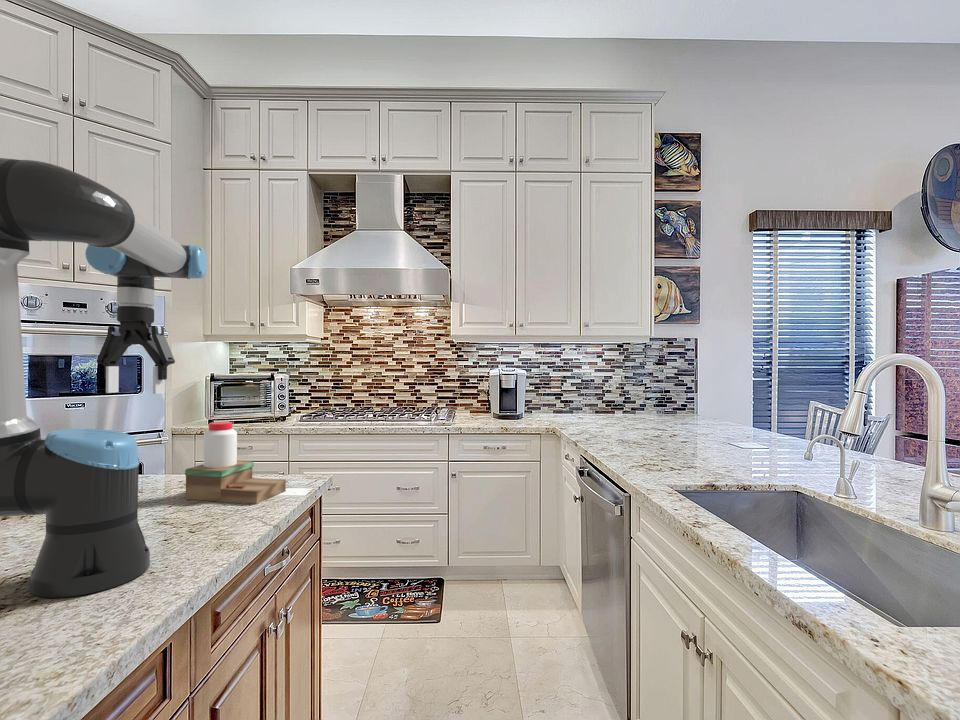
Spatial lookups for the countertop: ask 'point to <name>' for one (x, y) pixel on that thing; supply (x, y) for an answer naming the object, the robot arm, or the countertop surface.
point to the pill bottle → (220, 445)
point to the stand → (230, 484)
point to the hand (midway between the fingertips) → (135, 393)
